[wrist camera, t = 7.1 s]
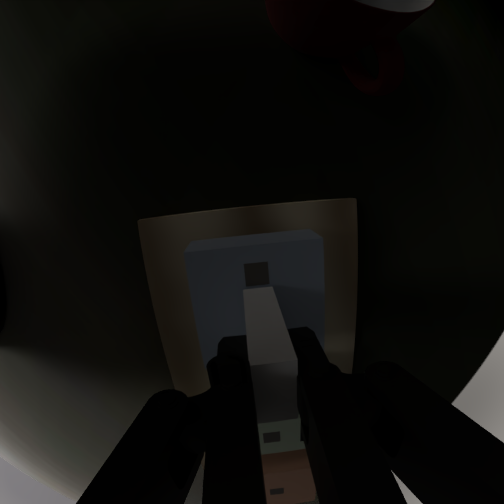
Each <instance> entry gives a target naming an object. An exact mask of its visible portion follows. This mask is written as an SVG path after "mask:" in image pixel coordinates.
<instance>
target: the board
mask: <svg viewBox="0 0 504 504" xmlns="http://www.w3.org/2000/svg"><path fill="white" fill-rule="evenodd" d="M137 223H138V229H139V236H140V242H141V248H142V254H143V259H144V265H145V270H146V275H147V280H148V285H149V290H150V295H151V299H152V304H153V308H154V313H155V317H156V321H157V325H158V329H159V333H160V337H161V341H162V345H163V349H164V353H165V356H166V360H167V363H168V367H169V370H170V374H171V377H172V381H173V384H174V387H175V390H179V391H182V392H183V393H184V394H186V395H187V397H191V396H195V395H198V394H201V393H204V392H205V391H207V390H208V389H210V387H211V386H210V381H209V377H208V372H207V369H205V367H204V362H203V358H202V353H201V348H200V343H199V338H198V333H197V328H196V323H195V318H194V312H193V307H192V301H191V296H190V290H189V284H188V278H187V272H186V265H185V259H184V251H185V250H186V248H187V247H188V245H189V244H190V242H191V241H196V240H205V239H214V238H223V237H233V236H242V235H252V234H262V233H272V232H282V231H292V230H303V229H311V230H312V231H314V232H315V233H317V234H318V235H320V236H321V237H323V246H324V284H325V335H324V352H325V354H326V356H327V358H328V360H329V362H330V363H332V364H334V365H336V366H337V367H338V368H339V369H340V370H341V372H342V373H346V374H352V367H353V356H354V344H355V330H356V312H357V285H358V228H357V200H356V199H355V198H342V199H327V200H313V201H300V202H288V203H276V204H265V205H255V206H245V207H235V208H225V209H216V210H208V211H199V212H191V213H183V214H175V215H167V216H159V217H152V218H145V219H140V220H138V221H137ZM201 464H202V467H203V469H204V464H205V452H204V456H203V459H202V461H201Z"/></svg>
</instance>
